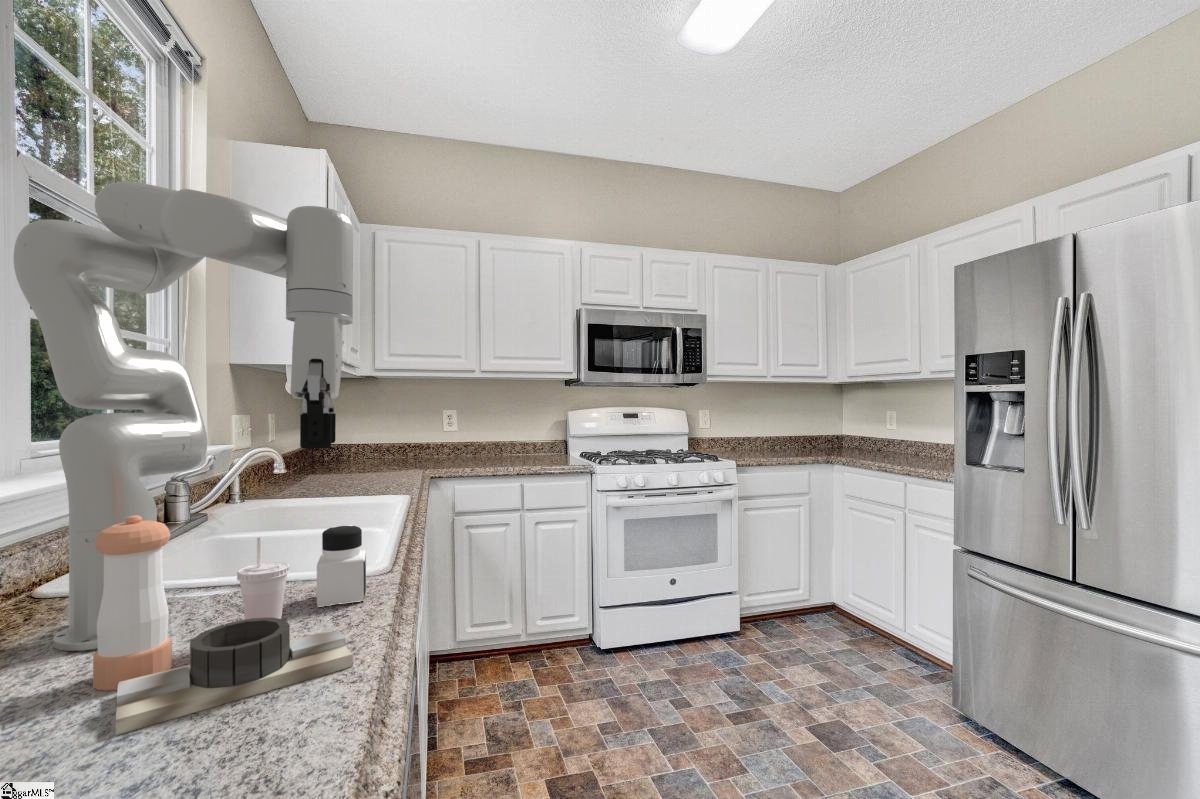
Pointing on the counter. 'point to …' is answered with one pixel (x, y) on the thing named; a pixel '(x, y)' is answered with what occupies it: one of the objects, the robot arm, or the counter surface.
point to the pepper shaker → (132, 604)
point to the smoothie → (263, 587)
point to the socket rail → (226, 694)
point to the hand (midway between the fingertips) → (319, 445)
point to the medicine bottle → (341, 566)
